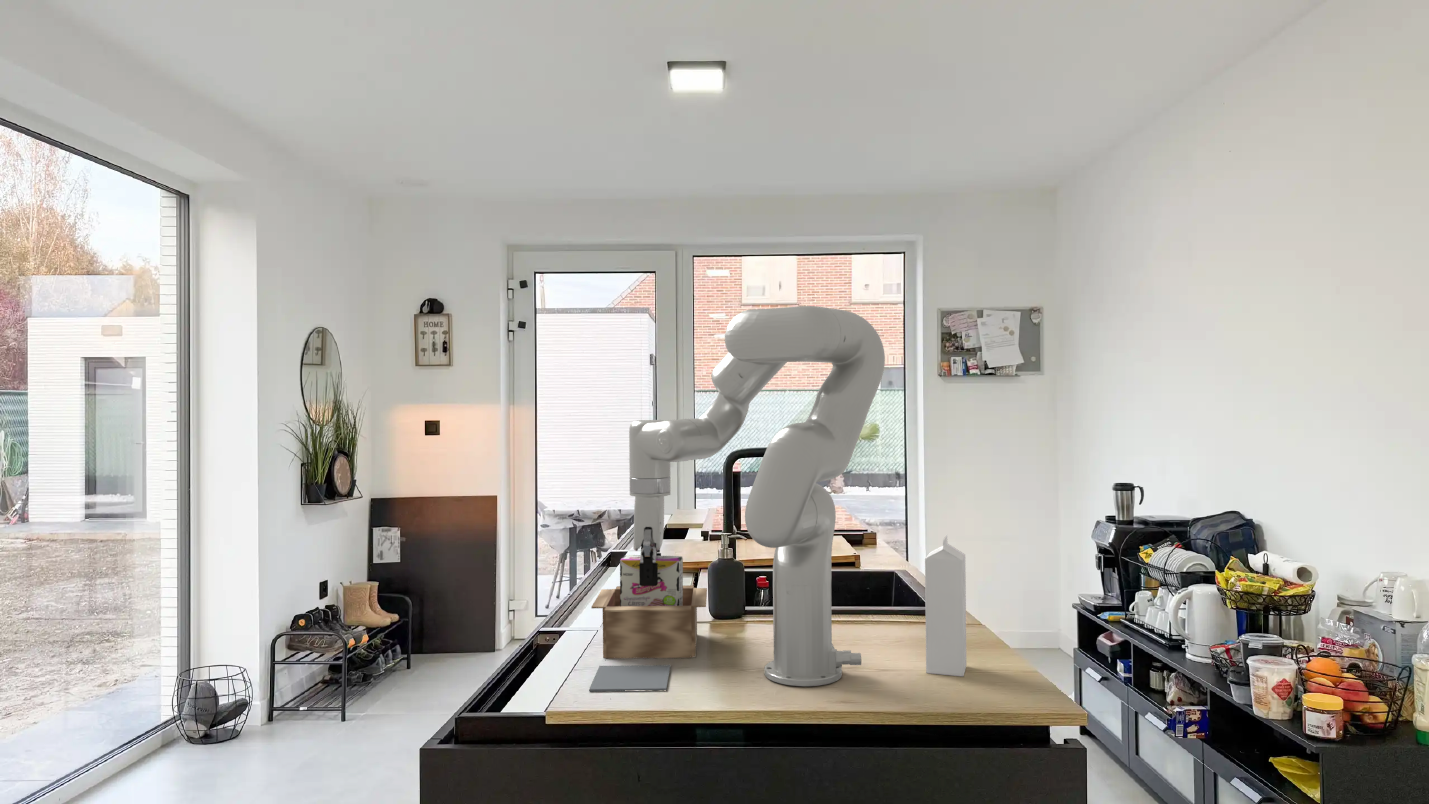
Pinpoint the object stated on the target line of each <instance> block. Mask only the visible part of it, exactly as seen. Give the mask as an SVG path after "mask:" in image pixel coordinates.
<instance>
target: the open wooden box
mask: <svg viewBox="0 0 1429 804" xmlns="http://www.w3.org/2000/svg"><path fill="white" fill-rule="evenodd" d="M694 586H695V585H692V584H691V585H684V584H683V606H620V585H619V586H616V588H607V589H605V588H603V589H601V590H600V592H599V593H598V595H597V597H596V599H595V600H594V601H593V603H592V605H591V609H602V657H603V659H612V660H613V659H671V658H672V659H673V658H674V659H675V658H676V659H677V658H679V659H680V658H681V659H682V658H683V659H684V658H685V659H686V658H688V659H689V658H690V659H691V658H696V654H697V653H696V652H697V638H698V611H697V610H698V608H707V594H708V588H706V587H699V588H698V587H694Z"/></svg>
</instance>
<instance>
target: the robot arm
mask: <svg viewBox="0 0 1429 804" xmlns="http://www.w3.org/2000/svg"><path fill="white" fill-rule="evenodd" d="M724 333H725V334H724V343H725V345H724V346H725V348H726V350H727V353H726V354H725V356H724V357H723V358H722V359H721V360H720V361H719V362H718V363H717V364H716V365H715V367H714V368H713V370H712V372H711V381H712V383H713V385H714V388H715V389H716V390H717V392H718V395H717V397H716V399H715V400H714V401H713V403H712V404H711V405H710V406H709V407H708V408H707V409H706V410H705V412H703V414H701V416H700V417H698V418H697V417H695V418H682V419H670V420H669V419H668V420H661V419H638V420H633V421H632V422H631V424H630V425H629V431H628V432H629V433H628V434H629V435H628V438H629V442H628V443H629V445H628V446H629V447H628V449H629V453H628V454H629V458H628V460H629V462H628V463H629V496H631V497H635V498H634V509H633V550H634V551H635V552H638V550H639V549H640V555H641V557H640V563H639V576H640V586H656V585H657V584H658V563H656V556H662V553H661V548H662V545H663V541H664V531H665V529H664V527H665V497H668V496H671V495H672V494H671V489H672V488H671V463H681V462H687V461H688V462H689V461H694V460H704V459H708V458H711V457H713V456H714V455H716V454H717V453H719V452H720V451H721V450H722V449H723V448H724V447H725V446H726V445H727V444H728V443H729V442H730V441H731V440H732V439H733V438H734V437H735V436H736V434H738V432H739V431H740V429H741V428H742V427H743V424H744V422H745V420H746V418H747V415H748V412H749V408H750V404H751V402H752V401H753V400H754V399H755V397H757V395H758V394H759V393H760V392H761V391H762V390H763V388H765V387H766V385H768V383H769V382H771V380H772V379H773V378H774V377H775V376H776V375H777V374H778V372H779V371H780V370H781V369H782V368H783V367H784V366H785V365H786V364H787V363H800V362H801V363H803V362H804V363H806V362H807V363H827V364H829V363H831V364H832V368H831V371H830V373H829V374H828V375H827V377H826V378H825V380H824V381H823V383H822V384H821V386H820V388H819V389H818V392H817V394H816V397H815V401H814V404H813V406H812V408H811V410H810V413H809V414H808V417H807V419H806V421H804V422H795V423H792V424H788V425H786V426H784V427H783V428H781V429H780V430H778V431H777V432H776V434H775V435H774V436H773V437H772V438H771V440H770V441H769V443H768V444H767V445H768V446H767V447H766V449H765V452H764V455H763V456H762V460H761V462H760V465H759V467H758V471H757V473H756V476H755V478H754V482H753V484H752V486H751V490H750V492H749V495H748V497H747V501H746V504H745V511H744V522H745V526H746V530H747V532H748V534H749V536H750V537H751V538H752V540H753V541H754V542H755V543H756V544H758V545H760V546H762V547H765V548H769V549H772V548H773V549H774V555H773V562H772V563H773V564H772V597H773V598H772V607H773V609H772V613H773V616H772V619H773V623H772V624H773V625H772V626H773V660H771V661H768V663H767V664H766V665H764V670H763V671H764V676H765V677H766V678H767V679H768V680H770V681H772V682H774V683H777V684H781V685H787V686H791V687H795V686H796V687H816V686H824V685H830V684H832V683H835V682H837V681H839V680H840V679H841V678H842V676H843V672H842V671H843V668H842V667H843V665H845V666H846V665H847V666H861V665H862V654H861V653H860V652H852V650H850V649H847V650H846V649H845V650H838V649H836V648H835V647H834V644H833V641H832V640H833V638H832V637H833V636H832V635H833V634H832V633H833V632H832V630H833V629H832V623H833V621H832V620H833V619H832V618H833V617H832V557H833V554H832V553H833V541H834V533H835V530H836V529H835V527H836V514H837V513H836V512H837V511H836V507H835V502H834V499H833V497H832V496H831V494H830V492H829V491H828V490H827V489H826V488H825V487H823V486H822V485H821V484H818V483H821V482H825V481H829V480H833V479H836V478H838V477H839V476H840V475H842V474H844V472H845V471H846V469H847V468H848V466H849V464H850V462H851V459H852V456H853V454H854V450H855V449H856V446H857V443H858V442H859V441H858V440H859V438H860V436H861V433H862V430H863V428H864V425H865V422H866V419H867V416H868V414H869V411H870V408H871V406H872V403H873V401H874V399H875V396H876V394H877V392H878V390H879V386H880V384H881V382H882V379H883V375H884V370H885V365H886V363H885V362H886V356H885V355H886V354H885V348H884V344H883V342H882V339H881V337H880V335H879V332H877V330H876V328H875V326H873V325H872V324H871V323H870V322H869V321H868V320H867V319H865V318H864V317H863V316H860V315H858V314H857V313H854V312H852V311H847V310H843V309H837V308H828V307H823V306H818V305H816V306H814V305H802V306H790V307H789V306H788V307H774V308H762V309H761V308H756V309H755V308H753V309H747V310H743V311H741V312H739V313H737V314H736V315H734V317H733V318H732V319H731V321H730V322H729V323H728V324H727V327H726V330H725V332H724Z"/></svg>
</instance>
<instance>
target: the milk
mask: <svg viewBox="0 0 1429 804" xmlns="http://www.w3.org/2000/svg"><path fill="white" fill-rule="evenodd" d="M966 577H967V576H966V554H965V553H964V552H962V551H961V550H958V549H957V548H955V547H954V546H952V545H951V544H949V543H948V534H945V537H944V538H943V539H942V545H941V546H939V547H937V548H935V549H933V550H932V551H930V552H928V554H927V555H926V556H925V559H924V581H925V582H924V585H925V586H924V588H925V591H924V593H925V595H924V596H925V597H924V598H925V600H924V602H925V606H924V607H925V671H926V672H925V673H926V674H931V675H932V674H933V675H943V676H953V677H954V676H955V677H964V675H965V672H966V668H967V603H966V602H967V595H966V594H967V587H966V583H967V582H966Z"/></svg>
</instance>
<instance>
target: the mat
mask: <svg viewBox="0 0 1429 804" xmlns="http://www.w3.org/2000/svg"><path fill="white" fill-rule="evenodd" d="M669 671H670V672H671V664H644V665H643V664H641V665H639V664H638V665H637V664H635V665H632V664H629V665H599V666H598V668H597V670H596V673H595V674H594V677H593V680H592V682H591V684H590V686H589V689H588V692H589V691H590V692H589V693H597V692H598V691H600V692H598V693H602V692H603V691H605V692H606V691H621V692H626V691H625V690H666V691H667V688H668V682H669V677H670V676H669V675H670V672H669ZM593 691H595V692H593ZM605 692H604V693H605ZM606 693H607V692H606Z"/></svg>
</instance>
